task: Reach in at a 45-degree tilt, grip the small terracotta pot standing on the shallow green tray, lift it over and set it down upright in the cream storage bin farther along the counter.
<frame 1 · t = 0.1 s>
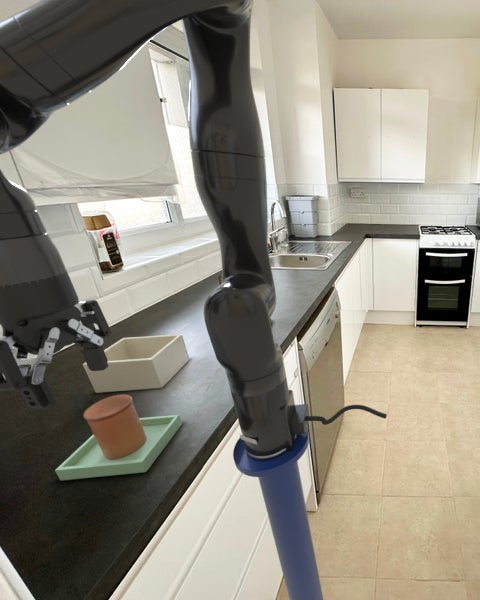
hand: (75, 386, 43), 19 cm above the countertop, tool pointing down, fingers open, 8 cm apart
shallow green tray: (127, 449, 57), on the countertop
wooden mug: (250, 326, 105), on the countertop
terracotta pot: (126, 445, 57), point 1 cm above the countertop, touching shallow green tray
cream storage bin: (146, 374, 79), on the countertop
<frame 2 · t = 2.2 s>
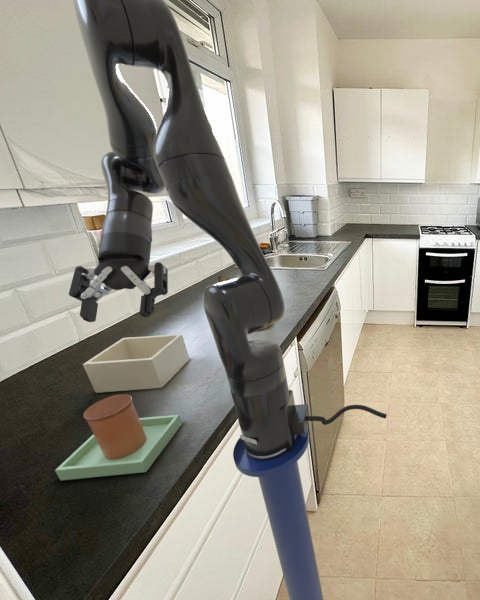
hand: (117, 318, 56), 22 cm above the countertop, tool tilted 40°, fingers open, 8 cm apart
nothing on the countertop moved.
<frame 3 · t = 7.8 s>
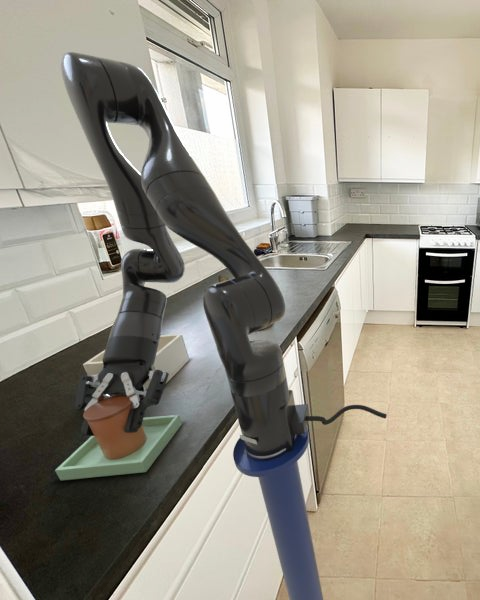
hand: (110, 433, 53), 5 cm above the countertop, tool tilted 45°, fingers closed on terracotta pot, 6 cm apart
terracotta pot: (126, 445, 57), point 1 cm above the countertop, touching shallow green tray, gripper
everything else where it was.
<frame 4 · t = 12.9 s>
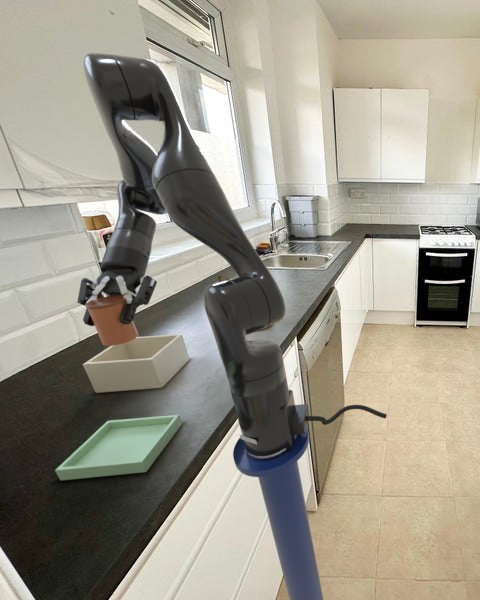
hand: (107, 323, 64), 18 cm above the countertop, tool tilted 45°, fingers closed on terracotta pot, 6 cm apart
terracotta pot: (120, 339, 67), point 14 cm above the countertop, touching gripper
everything else where it was.
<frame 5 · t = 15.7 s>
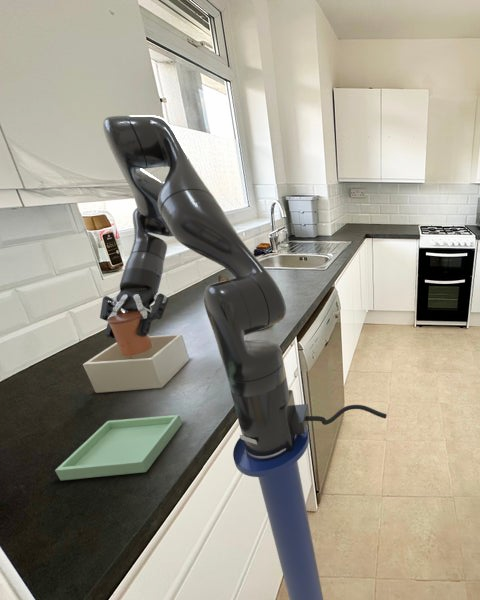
hand: (126, 336, 73), 12 cm above the countertop, tool tilted 45°, fingers closed on terracotta pot, 6 cm apart
terracotta pot: (137, 349, 76), point 7 cm above the countertop, touching gripper
everything else where it was.
when the fingers open (5 cm above the countertop, at t = 18.1 s): terracotta pot stays where it is, resting on cream storage bin.
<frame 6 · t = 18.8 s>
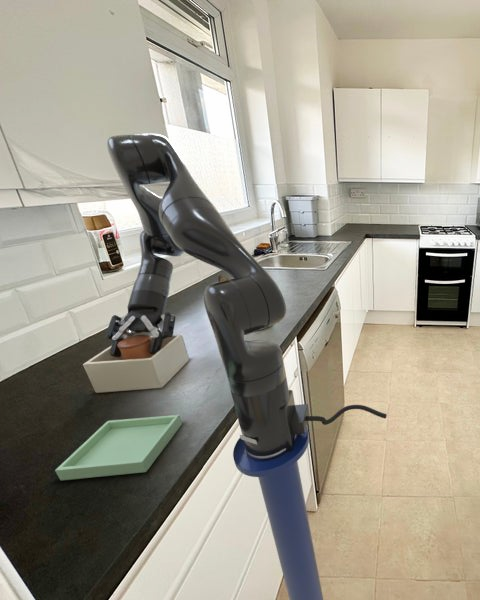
hand: (134, 355, 75), 6 cm above the countertop, tool tilted 45°, fingers open, 8 cm apart
terracotta pot: (145, 371, 79), point 1 cm above the countertop, touching cream storage bin
everything else where it was.
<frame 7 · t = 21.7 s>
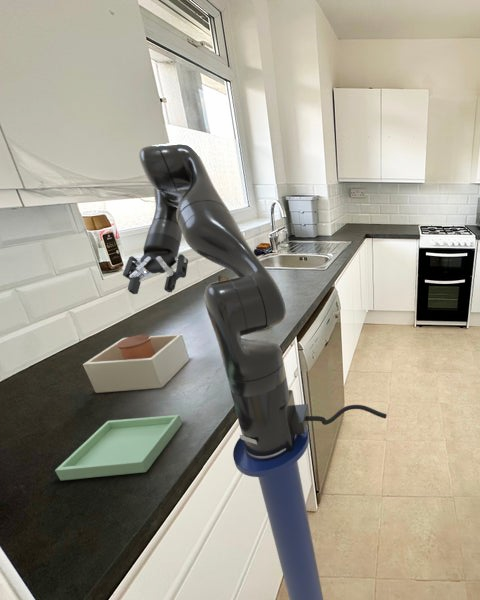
hand: (150, 292, 80), 19 cm above the countertop, tool tilted 45°, fingers open, 8 cm apart
nothing on the countertop moved.
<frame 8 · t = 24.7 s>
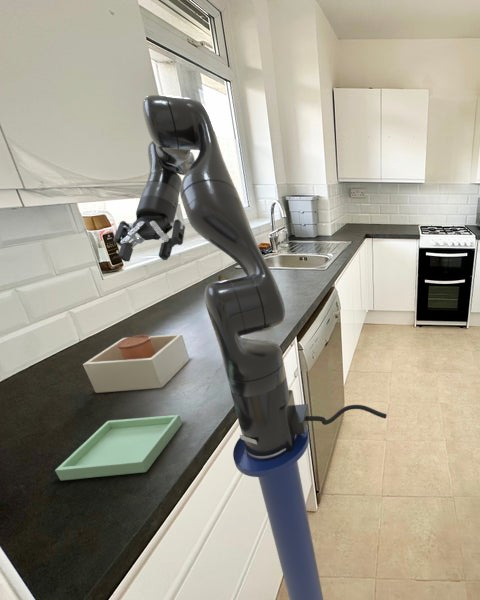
hand: (143, 259, 73), 29 cm above the countertop, tool tilted 45°, fingers open, 8 cm apart
nothing on the countertop moved.
at the end: terracotta pot inside the target area in the cream storage bin (0.1 cm from its centre), point 0.8 cm above the cream storage bin's base; terracotta pot tilted 0°; the gripper is holding nothing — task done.
